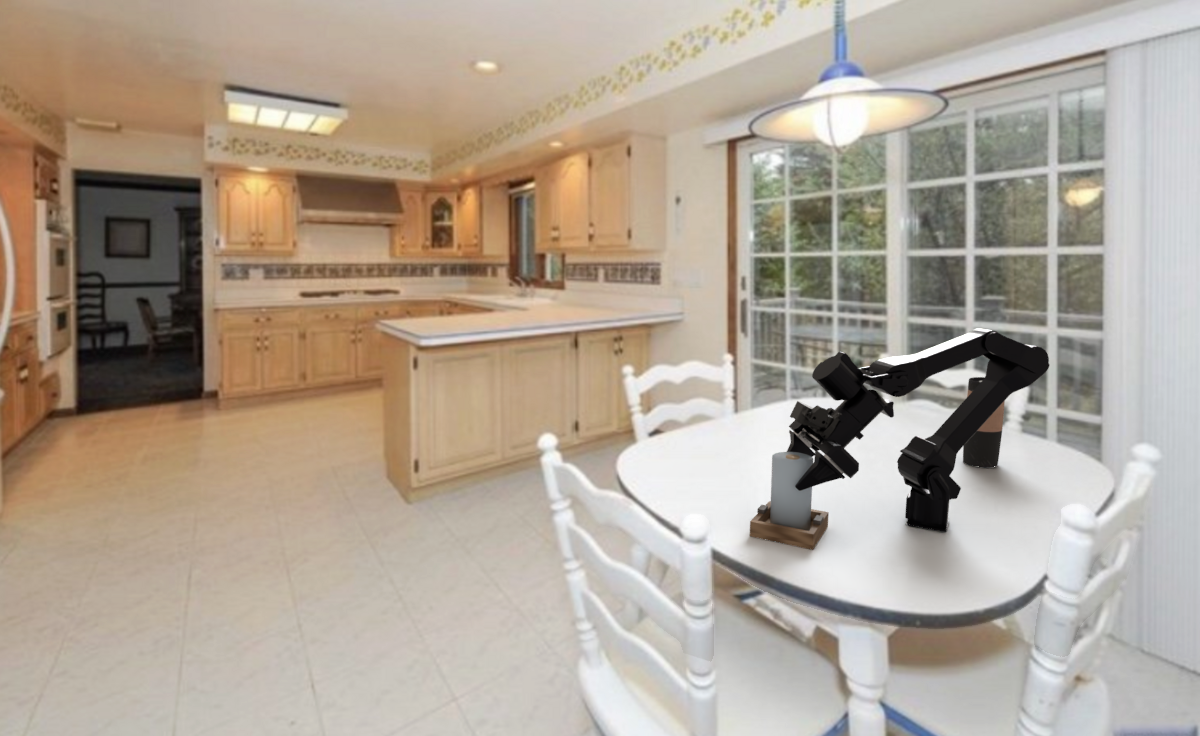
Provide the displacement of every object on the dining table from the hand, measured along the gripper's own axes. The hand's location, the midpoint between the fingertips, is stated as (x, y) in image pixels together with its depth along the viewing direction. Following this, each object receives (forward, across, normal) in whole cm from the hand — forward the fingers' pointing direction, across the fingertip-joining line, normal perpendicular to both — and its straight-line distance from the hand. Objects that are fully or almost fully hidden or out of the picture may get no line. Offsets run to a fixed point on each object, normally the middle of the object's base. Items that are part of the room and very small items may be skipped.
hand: (787, 479), depth 115 cm
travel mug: (-34, -33, +48) cm, 68 cm away
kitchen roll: (+6, 0, +7) cm, 9 cm away
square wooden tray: (+6, 0, +7) cm, 10 cm away
